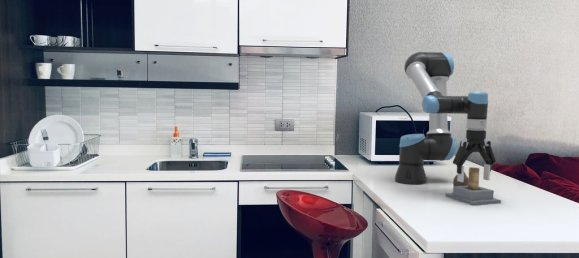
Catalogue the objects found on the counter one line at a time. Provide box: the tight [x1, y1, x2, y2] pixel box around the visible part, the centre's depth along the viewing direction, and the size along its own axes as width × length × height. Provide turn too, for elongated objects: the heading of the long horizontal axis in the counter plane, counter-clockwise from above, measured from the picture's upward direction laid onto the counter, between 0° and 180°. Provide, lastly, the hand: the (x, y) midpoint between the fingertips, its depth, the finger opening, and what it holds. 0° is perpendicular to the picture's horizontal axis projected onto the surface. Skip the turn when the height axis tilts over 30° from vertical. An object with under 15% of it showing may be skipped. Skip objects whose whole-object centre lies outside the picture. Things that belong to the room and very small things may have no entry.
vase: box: [452, 171, 469, 187], centre depth 202 cm, size 7×7×9 cm
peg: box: [468, 167, 480, 190], centre depth 186 cm, size 4×4×12 cm
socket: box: [445, 185, 502, 206], centre depth 186 cm, size 16×14×5 cm
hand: (473, 180), depth 186 cm, fingers open, 13 cm apart
